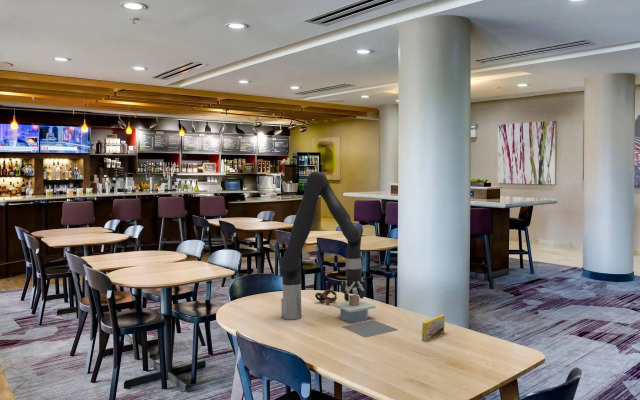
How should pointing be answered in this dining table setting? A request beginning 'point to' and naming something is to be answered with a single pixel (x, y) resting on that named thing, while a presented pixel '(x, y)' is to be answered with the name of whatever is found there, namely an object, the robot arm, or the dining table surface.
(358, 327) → the mat
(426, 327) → the candy box
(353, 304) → the lid
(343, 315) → the bowl
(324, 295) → the brown looped knot
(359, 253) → the robot arm
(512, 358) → the dining table surface
